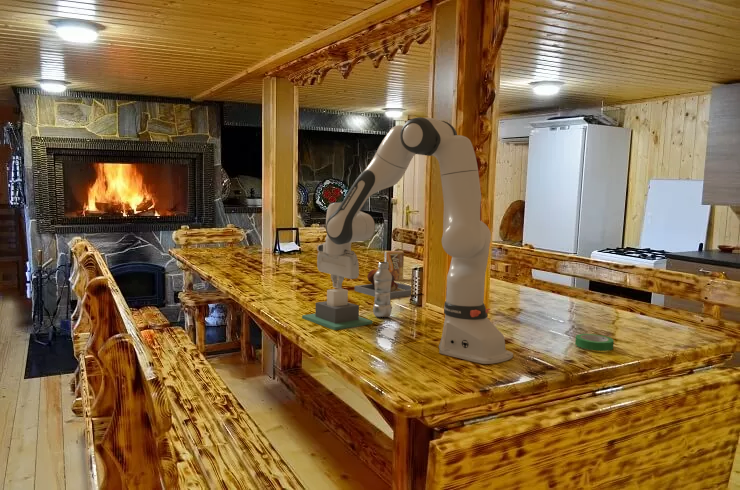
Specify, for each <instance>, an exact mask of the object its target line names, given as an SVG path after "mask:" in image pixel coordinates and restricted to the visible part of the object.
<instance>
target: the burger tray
mask: <svg viewBox="0 0 740 490" xmlns="http://www.w3.org/2000/svg"><path fill="white" fill-rule="evenodd" d="M394 282H395V283H396V284H398V288H397V289H400V290H398V291H397V290H394V291H393V292H390V300H392V299H397V298H398V299H399V298H404V297H410V295H411V286H412V285H409V284H404V283H400V282H397V281H394ZM354 291H355V292H358V293H361V294H364V295H368V296H371V297H374V298H375V288H374V285H373V284H372V283H370V284H360V285H354Z"/></svg>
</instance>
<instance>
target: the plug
mask: <svg viewBox="0 0 740 490" xmlns="http://www.w3.org/2000/svg"><path fill="white" fill-rule="evenodd" d="M348 293H349V290H348V289H346V288H345V289H344V288H343V287H342V288H339V289H338V288H333V289H327V291H326V301H327V305H329V306H332V307H335V306H342V305H348V302H349V301H348V300H349V299H348V298H349V297H348V296H349V295H348Z"/></svg>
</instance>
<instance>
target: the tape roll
mask: <svg viewBox="0 0 740 490" xmlns="http://www.w3.org/2000/svg"><path fill="white" fill-rule="evenodd" d="M614 342H615V340H614V339H613V338H612V337H609V336H606V335H601V334H595V333H580V334H577V335H575V346H576V345H577V347H578V348H580V347H581V349H583V350H584V349H585V350H588V351H589V350H590V351H595V352H596V351H597V352H607V351H612V350H613V349H614Z"/></svg>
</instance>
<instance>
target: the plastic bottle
mask: <svg viewBox="0 0 740 490" xmlns="http://www.w3.org/2000/svg"><path fill="white" fill-rule="evenodd" d="M377 264H378V265H377V268H378V270H377V272H376V273H375V275H374V284H375V289H374V290H375V297H374V302H373V307H372V312H373V313H372V314H373V315H374V316H375V317H377V318H381V317H382V319H383V317H384V318H389V317H390V316H391V314H392V304H391V299H390V288H391V282H392V281H391V280H392V275H391V273H390V272H389V270H388V268H389V263H388V262H384V261H379V262H378V263H377Z"/></svg>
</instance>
